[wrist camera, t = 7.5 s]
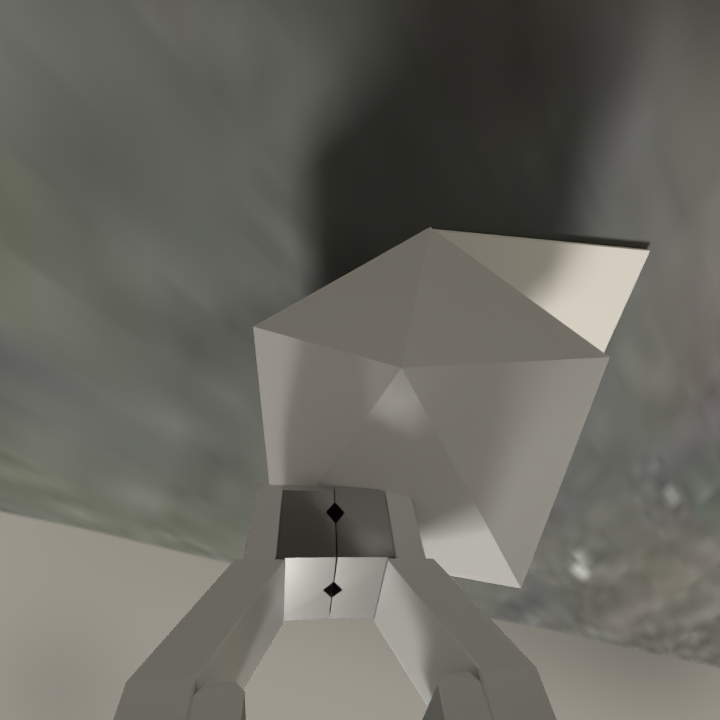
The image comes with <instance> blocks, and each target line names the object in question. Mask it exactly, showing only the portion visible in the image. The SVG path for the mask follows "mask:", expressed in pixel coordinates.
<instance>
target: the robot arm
mask: <svg viewBox="0 0 720 720" xmlns="http://www.w3.org/2000/svg"><path fill="white" fill-rule="evenodd" d="M329 610H330V618H340V619H343V618H344V619H357V618H358V619H374V622H375V624H376V625H377V627H378V628H379V630H380V632H381V633H382V635H383V636H384V638H385V640H386V641H387V643H388V644H389V646H390V647H391V649H392V651H393V652H394V654H395V656H396V657H397V659H398V660H399V662H400V663H401V665H402V667H403V668H404V670H405V672H406V673H407V674H408V676H409V678H410V680H411V681H412V683H413V684H414V686H415V688H416V689H417V691H418V692H419V694H420V696H421V697H422V699H423V700H424V702H425V703H426V705H427V707H428V708H427V710H426V713H425V715H424V717H423V720H556V717H555V715H554V712H553V710H552V707H551V704H550V702H549V699H548V696H547V694H546V691H545V689H544V686H543V683H542V681H541V678H540V676H539V673H538V670H537V668H536V667H535V666H534V664H533V663H532V662H531V661H530V660H529V659H528V658H527V657H526V656H525V655H524V654H523V653H522V652H521V651H520V650H519V649H518V648H517V647H516V646H515V644H514V643H513V642H512V641H511V640H510V639H509V638H508V637H507V636H506V635H505V634H504V633H503V632H502V631H501V630H500V628H499V627H498V626H497V625H496V624H495V623H494V622H493V621H492V620H491V619H490V618H489V617H488V616H487V615H486V614H485V613H484V611H483V610H482V609H481V608H480V607H479V606H478V605H477V604H476V603H475V602H474V601H473V600H472V599H471V598H470V597H469V596H468V595H467V593H466V592H465V591H464V590H463V589H462V588H461V587H460V586H459V585H458V584H457V583H456V582H455V581H454V580H453V579H452V578H451V577H450V575H449V574H448V573H447V572H446V571H445V570H444V569H443V568H442V567H441V566H440V565H439V564H438V563H437V562H436V561H435V560H434V559H429V558H426V556H425V552H424V548H423V544H422V540H421V536H420V531H419V527H418V523H417V519H416V515H415V511H414V506H413V502H412V499H411V497H409V496H404V495H400V494H396V493H391V492H387V491H385V492H384V491H383V490H378V489H368V488H356V487H344V486H334V488H333V487H331V486H307V485H284V486H283V485H272V484H257V486H256V489H255V493H254V499H253V505H252V511H251V517H250V523H249V529H248V535H247V541H246V547H245V553H244V559H239V560H234V561H233V563H232V564H231V565H230V566H229V567H228V568H227V569H226V570H225V572H224V573H223V574H222V575H221V576H220V577H219V578H218V580H217V581H216V582H215V583H214V584H213V585H212V586H211V587H210V589H209V590H208V591H207V592H206V593H205V594H204V595H203V596H202V597H201V599H200V600H199V601H198V602H197V603H196V604H195V605H194V607H193V608H192V609H191V610H190V611H189V612H188V613H187V614H186V615H185V617H184V618H183V619H182V620H181V621H180V622H179V623H178V624H177V626H176V627H175V628H174V629H173V630H172V631H171V632H170V634H169V635H168V636H167V637H166V638H165V639H164V640H163V641H162V642H161V644H160V645H159V646H158V647H157V648H156V649H155V650H154V652H153V653H152V654H151V655H150V656H149V657H148V658H147V659H146V661H145V662H144V663H143V664H142V665H141V666H140V667H139V669H137V671H136V672H135V673H134V674H133V675H132V676H131V677H130V679H129V680H128V681H127V682H126V684H125V687H124V690H123V693H122V696H121V699H120V702H119V705H118V708H117V711H116V714H115V717H114V720H246V713H245V692H244V688H245V686H246V685H247V683H248V681H249V680H250V678H251V676H252V675H253V673H254V671H255V670H256V668H257V666H258V665H259V663H260V661H261V660H262V658H263V656H264V655H265V653H266V651H267V650H268V648H269V646H270V645H271V643H272V641H273V640H274V638H275V636H276V635H277V633H278V631H279V630H280V628H281V626H282V625H283V621H287V620H308V619H325V618H326V619H327V618H328V617H329Z"/></svg>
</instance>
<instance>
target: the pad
mask: <svg viewBox="0 0 720 720" xmlns="http://www.w3.org/2000/svg"><path fill="white" fill-rule="evenodd" d="M434 230H435V231H437V232H438V233H439V234H441V235H442V236H443V237H445V238H446V239H448V240H449V241H450V242H452V243H453V244H454V245H456V246H457V247H459V248H460V249H461V250H463V251H464V252H465V253H467V254H468V255H470V256H471V257H472V258H474V259H475V260H477V261H478V262H479V263H481V264H482V265H483V266H485V267H486V268H488V269H489V270H490V271H492V272H493V273H494V274H496V275H497V276H499V277H500V278H501V279H503V280H504V281H505V282H507V283H508V284H510V285H511V286H512V287H514V288H515V289H516V290H518V291H519V292H521V293H522V294H523V295H525V296H526V297H527V298H529V299H530V300H532V301H533V302H534V303H536V304H537V305H539V306H540V307H541V308H543V309H544V310H545V311H547V312H548V313H550V314H551V315H552V316H554V317H555V318H556V319H558V320H559V321H561V322H562V323H563V324H565V325H566V326H567V327H569V328H570V329H572V330H573V331H574V332H576V333H577V334H578V335H580V336H581V337H583V338H584V339H585V340H587V341H588V342H590V343H591V344H592V345H594V346H595V347H596V348H598V349H599V350H601V351H602V352H603V353H604V351H605V349H606V347H607V345H608V342H609V340H610V338H611V336H612V334H613V331H614V329H615V327H616V325H617V323H618V320H619V318H620V316H621V314H622V311H623V309H624V307H625V305H626V303H627V300H628V298H629V296H630V294H631V292H632V289H633V287H634V285H635V283H636V281H637V278H638V276H639V274H640V272H641V270H642V267H643V265H644V263H645V261H646V259H647V256H648V254H649V252H650V251H649V250H647V249H639V248H628V247H618V246H607V245H597V244H586V243H576V242H565V241H555V240H544V239H534V238H523V237H513V236H502V235H492V234H481V233H471V232H460V231H450V230H439V229H434Z"/></svg>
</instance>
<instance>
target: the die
mask: <svg viewBox="0 0 720 720" xmlns="http://www.w3.org/2000/svg"><path fill="white" fill-rule="evenodd" d="M253 330H254V339H255V349H256V359H257V368H258V378H259V388H260V397H261V407H262V417H263V426H264V436H265V445H266V455H267V465H268V474H269V484H272V485H283V486H284V485H307V486H331V487H333V488H334V486H344V487H356V488H368V489H378V490H383V491H384V492H385V491H387V492H391V493H396V494H400V495H404V496H409V497H411V499H412V502H413V506H414V511H415V515H416V519H417V523H418V527H419V531H420V536H421V540H422V544H423V548H424V552H425V556H426V558H429V559H434V560H435V561H436V562H437V563H438V564H439V565H440V566H441V567H442V568H443V569H444V570H445V571H446V572H447V573H448V574H449V575H451V576H456V577H462V578H467V579H473V580H478V581H483V582H489V583H494V584H500V585H505V586H511V587H516V588H521V587H522V584H523V582H524V579H525V577H526V574H527V571H528V569H529V566H530V564H531V561H532V558H533V556H534V553H535V551H536V548H537V545H538V543H539V540H540V538H541V535H542V532H543V530H544V527H545V524H546V522H547V519H548V517H549V514H550V511H551V509H552V506H553V504H554V501H555V498H556V496H557V493H558V491H559V488H560V485H561V483H562V480H563V478H564V475H565V472H566V470H567V467H568V465H569V462H570V459H571V457H572V454H573V452H574V449H575V446H576V444H577V441H578V439H579V436H580V433H581V431H582V428H583V426H584V423H585V420H586V418H587V415H588V412H589V410H590V407H591V405H592V402H593V399H594V397H595V394H596V392H597V389H598V386H599V384H600V381H601V379H602V376H603V373H604V371H605V368H606V366H607V363H608V360H609V358H610V357H609V356H607V355H606V354H605V353H603V352H602V351H601V350H599V349H598V348H596V347H595V346H594V345H592V344H591V343H590V342H588V341H587V340H585V339H584V338H583V337H581V336H580V335H578V334H577V333H576V332H574V331H573V330H572V329H570V328H569V327H567V326H566V325H565V324H563V323H562V322H561V321H559V320H558V319H556V318H555V317H554V316H552V315H551V314H550V313H548V312H547V311H545V310H544V309H543V308H541V307H540V306H539V305H537V304H536V303H534V302H533V301H532V300H530V299H529V298H527V297H526V296H525V295H523V294H522V293H521V292H519V291H518V290H516V289H515V288H514V287H512V286H511V285H510V284H508V283H507V282H505V281H504V280H503V279H501V278H500V277H499V276H497V275H496V274H494V273H493V272H492V271H490V270H489V269H488V268H486V267H485V266H483V265H482V264H481V263H479V262H478V261H477V260H475V259H474V258H472V257H471V256H470V255H468V254H467V253H465V252H464V251H463V250H461V249H460V248H459V247H457V246H456V245H454V244H453V243H452V242H450V241H449V240H448V239H446V238H445V237H443V236H442V235H441V234H439V233H438V232H437V231H435V230H434V229H432V228H431V227H429V228H427V229H426V230H424V231H422V232H420V233H419V234H417V235H415V236H413V237H411V238H410V239H408V240H406V241H404V242H403V243H401V244H399V245H397V246H395V247H394V248H392V249H390V250H388V251H387V252H385V253H383V254H381V255H379V256H378V257H376V258H374V259H372V260H371V261H369V262H367V263H365V264H364V265H362V266H360V267H358V268H356V269H355V270H353V271H351V272H349V273H348V274H346V275H344V276H342V277H340V278H339V279H337V280H335V281H333V282H332V283H330V284H328V285H326V286H324V287H323V288H321V289H319V290H317V291H316V292H314V293H312V294H310V295H309V296H307V297H305V298H303V299H301V300H300V301H298V302H296V303H294V304H293V305H291V306H289V307H287V308H285V309H284V310H282V311H280V312H278V313H277V314H275V315H273V316H271V317H269V318H268V319H266V320H264V321H262V322H261V323H259V324H257V325H255V326H254V327H253Z"/></svg>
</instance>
